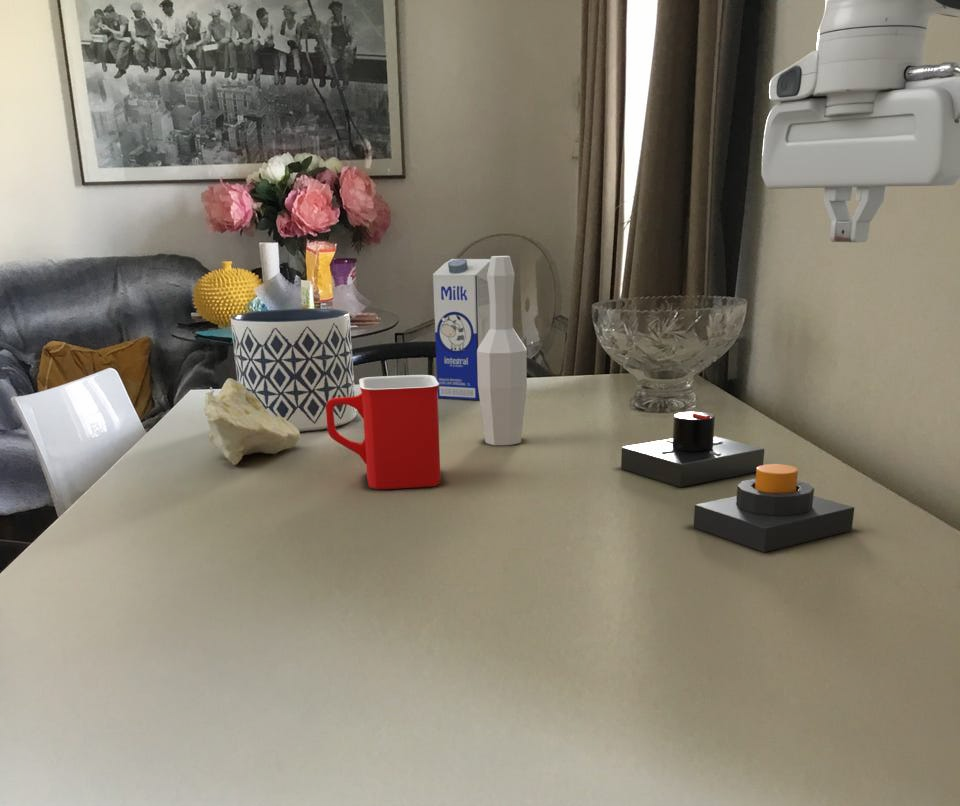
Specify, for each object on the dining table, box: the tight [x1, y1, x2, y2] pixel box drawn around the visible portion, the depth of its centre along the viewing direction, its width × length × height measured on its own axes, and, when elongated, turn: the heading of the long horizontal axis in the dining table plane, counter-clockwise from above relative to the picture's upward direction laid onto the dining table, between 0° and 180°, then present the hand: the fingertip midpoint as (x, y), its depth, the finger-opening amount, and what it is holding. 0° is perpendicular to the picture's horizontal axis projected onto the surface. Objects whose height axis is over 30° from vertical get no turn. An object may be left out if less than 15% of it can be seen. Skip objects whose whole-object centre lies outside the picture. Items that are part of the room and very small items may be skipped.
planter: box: [230, 308, 357, 432], centre depth 145 cm, size 16×16×14 cm
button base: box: [693, 477, 855, 553], centre depth 96 cm, size 11×9×4 cm
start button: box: [755, 463, 799, 493], centre depth 95 cm, size 4×4×2 cm
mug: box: [326, 374, 442, 490], centre depth 114 cm, size 12×8×11 cm
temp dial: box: [672, 411, 716, 452], centre depth 116 cm, size 4×4×4 cm
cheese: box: [203, 377, 301, 466], centre depth 126 cm, size 15×7×15 cm
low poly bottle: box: [477, 255, 528, 446], centre depth 129 cm, size 6×6×22 cm
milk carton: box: [431, 258, 491, 401], centre depth 160 cm, size 7×7×20 cm
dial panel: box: [620, 435, 765, 488], centre depth 117 cm, size 12×10×3 cm
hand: (848, 242), depth 97 cm, fingers closed
